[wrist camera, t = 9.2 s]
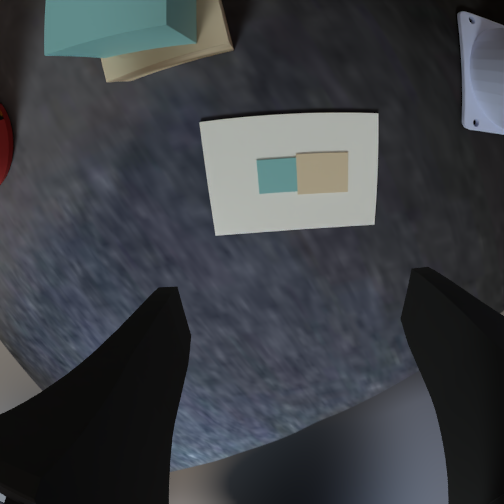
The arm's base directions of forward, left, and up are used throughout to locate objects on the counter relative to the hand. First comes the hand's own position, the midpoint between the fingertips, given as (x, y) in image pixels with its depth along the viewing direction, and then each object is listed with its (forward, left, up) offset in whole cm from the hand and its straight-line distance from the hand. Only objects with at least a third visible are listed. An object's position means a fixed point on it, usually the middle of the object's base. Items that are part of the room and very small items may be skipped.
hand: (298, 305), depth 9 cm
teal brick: (+5, -11, -7) cm, 14 cm away
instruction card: (-1, -1, -10) cm, 10 cm away
